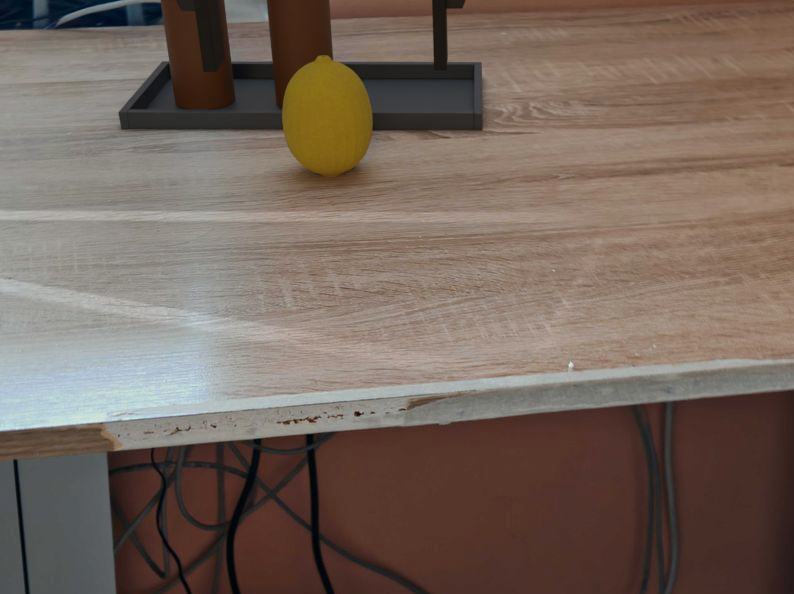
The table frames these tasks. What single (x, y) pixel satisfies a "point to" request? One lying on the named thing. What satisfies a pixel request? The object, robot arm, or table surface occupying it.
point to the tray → (384, 81)
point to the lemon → (327, 117)
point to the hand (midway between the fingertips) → (327, 65)
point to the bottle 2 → (297, 37)
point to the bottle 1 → (195, 61)
